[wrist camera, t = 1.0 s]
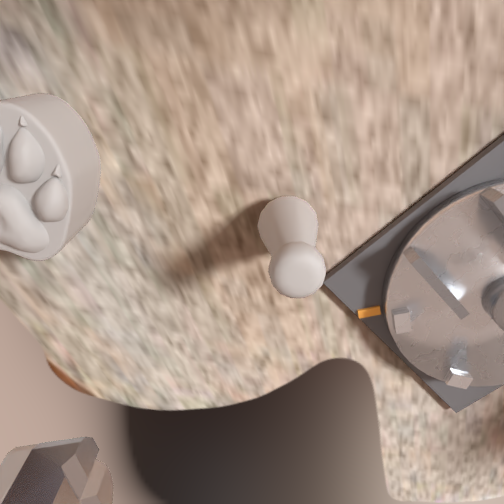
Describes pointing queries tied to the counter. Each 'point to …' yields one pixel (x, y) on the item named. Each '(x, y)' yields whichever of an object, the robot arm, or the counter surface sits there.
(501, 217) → the studded metal disc
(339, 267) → the gray square base
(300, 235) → the salt shaker
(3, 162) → the lumpy-topped squat cylinder
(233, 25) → the counter surface
